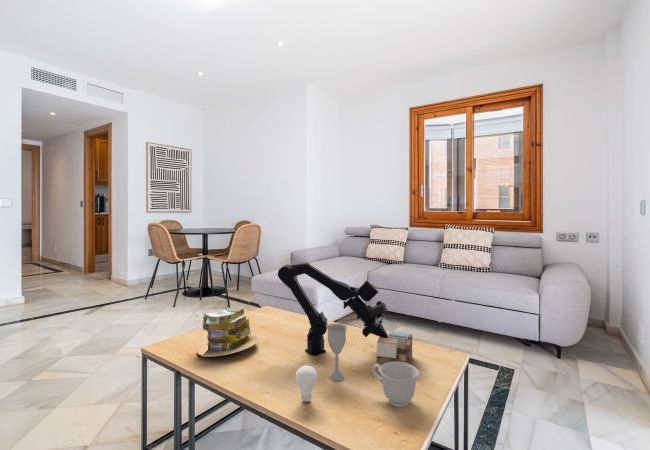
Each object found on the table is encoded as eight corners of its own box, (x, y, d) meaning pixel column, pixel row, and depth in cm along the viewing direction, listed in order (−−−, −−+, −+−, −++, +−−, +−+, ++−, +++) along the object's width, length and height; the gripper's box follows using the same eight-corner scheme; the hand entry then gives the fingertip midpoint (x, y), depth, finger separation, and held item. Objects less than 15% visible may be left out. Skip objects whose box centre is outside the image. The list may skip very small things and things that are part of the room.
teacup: (380, 385, 114) (380, 355, 114) (424, 399, 106) (424, 367, 105) (363, 401, 104) (363, 369, 104) (410, 418, 96) (410, 384, 95)
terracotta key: (376, 355, 127) (376, 341, 127) (378, 351, 131) (378, 337, 131) (395, 358, 125) (396, 343, 125) (397, 353, 129) (397, 339, 129)
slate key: (388, 348, 134) (388, 334, 133) (389, 344, 138) (389, 330, 138) (406, 350, 132) (406, 336, 131) (407, 346, 136) (407, 332, 136)
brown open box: (376, 367, 127) (376, 342, 127) (381, 353, 139) (382, 330, 139) (409, 372, 123) (410, 346, 123) (412, 357, 136) (412, 333, 135)
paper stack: (184, 353, 140) (183, 313, 139) (230, 334, 161) (230, 299, 160) (225, 368, 127) (224, 324, 126) (270, 345, 148) (269, 307, 147)
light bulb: (295, 396, 108) (295, 362, 107) (316, 395, 108) (316, 361, 108) (295, 408, 101) (295, 372, 101) (317, 407, 102) (317, 371, 101)
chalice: (349, 374, 121) (349, 325, 121) (344, 384, 115) (344, 331, 114) (329, 371, 124) (329, 322, 123) (323, 380, 117) (323, 329, 117)
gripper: (370, 302, 128) (400, 334, 125) (378, 291, 146) (404, 318, 143) (350, 321, 131) (379, 353, 128) (360, 307, 148) (385, 335, 145)
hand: (388, 338), depth 136 cm, fingers closed, pressing on slate key
